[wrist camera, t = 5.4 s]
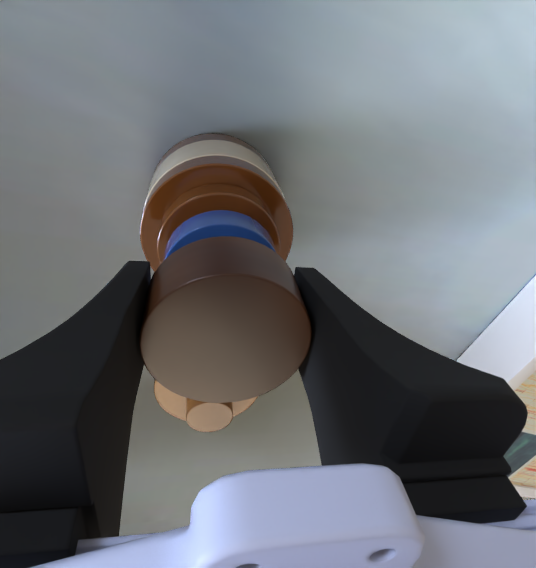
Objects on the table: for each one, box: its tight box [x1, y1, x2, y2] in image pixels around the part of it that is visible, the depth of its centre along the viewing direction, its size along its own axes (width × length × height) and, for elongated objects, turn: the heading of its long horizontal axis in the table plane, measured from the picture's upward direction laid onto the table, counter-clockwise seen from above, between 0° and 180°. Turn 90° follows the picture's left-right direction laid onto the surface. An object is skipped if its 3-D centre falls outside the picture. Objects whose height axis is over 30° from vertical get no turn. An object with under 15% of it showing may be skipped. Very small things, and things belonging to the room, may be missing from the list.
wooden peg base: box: [154, 379, 258, 432], centre depth 25 cm, size 7×7×3 cm
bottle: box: [140, 133, 293, 272], centre depth 16 cm, size 6×6×7 cm
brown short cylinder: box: [139, 236, 312, 403], centre depth 12 cm, size 5×5×2 cm
